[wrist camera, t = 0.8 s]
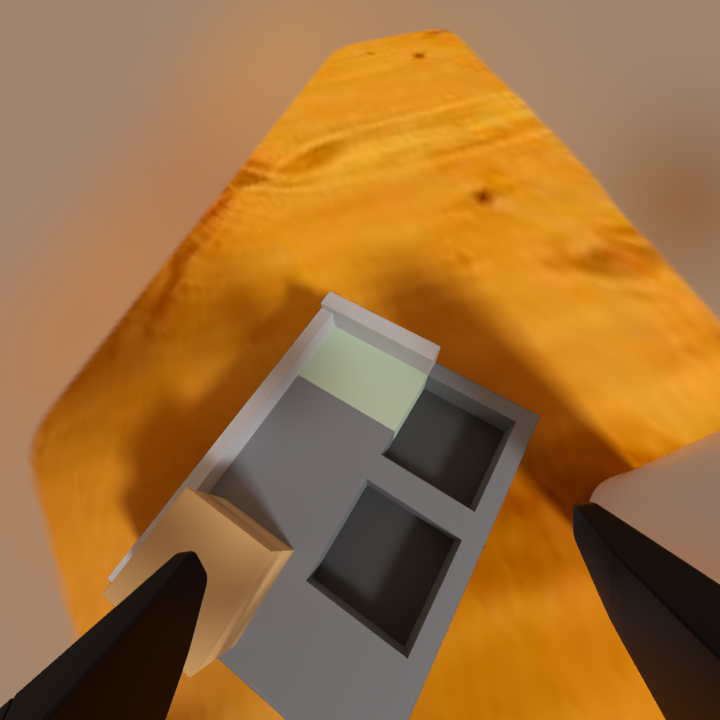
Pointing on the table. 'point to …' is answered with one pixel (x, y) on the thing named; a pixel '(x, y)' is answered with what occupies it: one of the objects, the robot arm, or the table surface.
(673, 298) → the table surface
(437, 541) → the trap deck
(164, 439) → the table surface
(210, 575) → the ochre block
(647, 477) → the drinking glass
